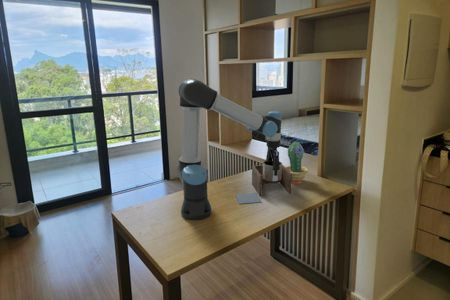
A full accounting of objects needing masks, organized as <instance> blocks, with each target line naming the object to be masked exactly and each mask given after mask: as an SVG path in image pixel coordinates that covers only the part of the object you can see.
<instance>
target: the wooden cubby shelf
mask: <svg viewBox="0 0 450 300" xmlns="http://www.w3.org/2000/svg"><path fill="white" fill-rule="evenodd" d="M262 174H263V164H256V165H251V185H252V187H253V188H254V190H255V193H257V195H258V197H262V192H263V191H262V188H263V187H262V185H269V184H270V185H271V184H280V185H281V186H282V187H283V188H284V190H285V191H286V192H287V193H288V194H289V195H291V194H292V173H291V172H290V171H289V170H288V169H287V168H285V165H283V164H282V178H281V180H280V181H277V182H269V181H266V180H264V179H263V178H262Z"/></svg>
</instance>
